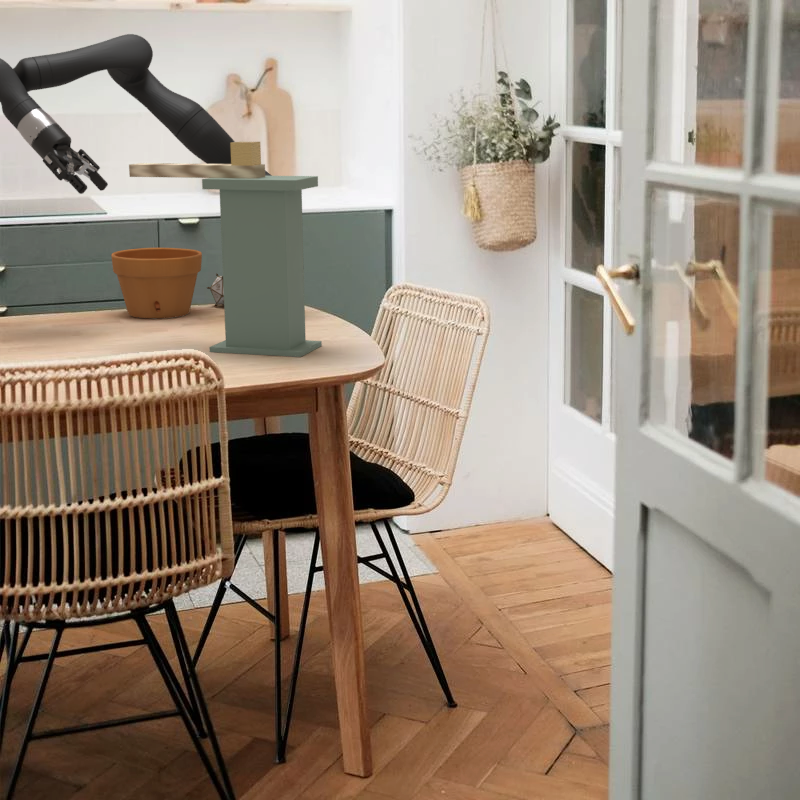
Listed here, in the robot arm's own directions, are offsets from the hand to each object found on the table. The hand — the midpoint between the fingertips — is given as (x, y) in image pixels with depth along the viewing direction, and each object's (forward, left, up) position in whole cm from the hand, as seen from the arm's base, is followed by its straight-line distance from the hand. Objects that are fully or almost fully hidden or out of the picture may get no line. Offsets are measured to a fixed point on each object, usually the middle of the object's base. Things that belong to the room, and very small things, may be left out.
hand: (94, 189), depth 278 cm
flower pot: (-19, -20, -32) cm, 42 cm away
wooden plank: (-15, +23, +3) cm, 28 cm away
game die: (-37, -23, -32) cm, 54 cm away
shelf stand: (-25, +33, -32) cm, 52 cm away
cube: (-23, +31, +6) cm, 39 cm away
